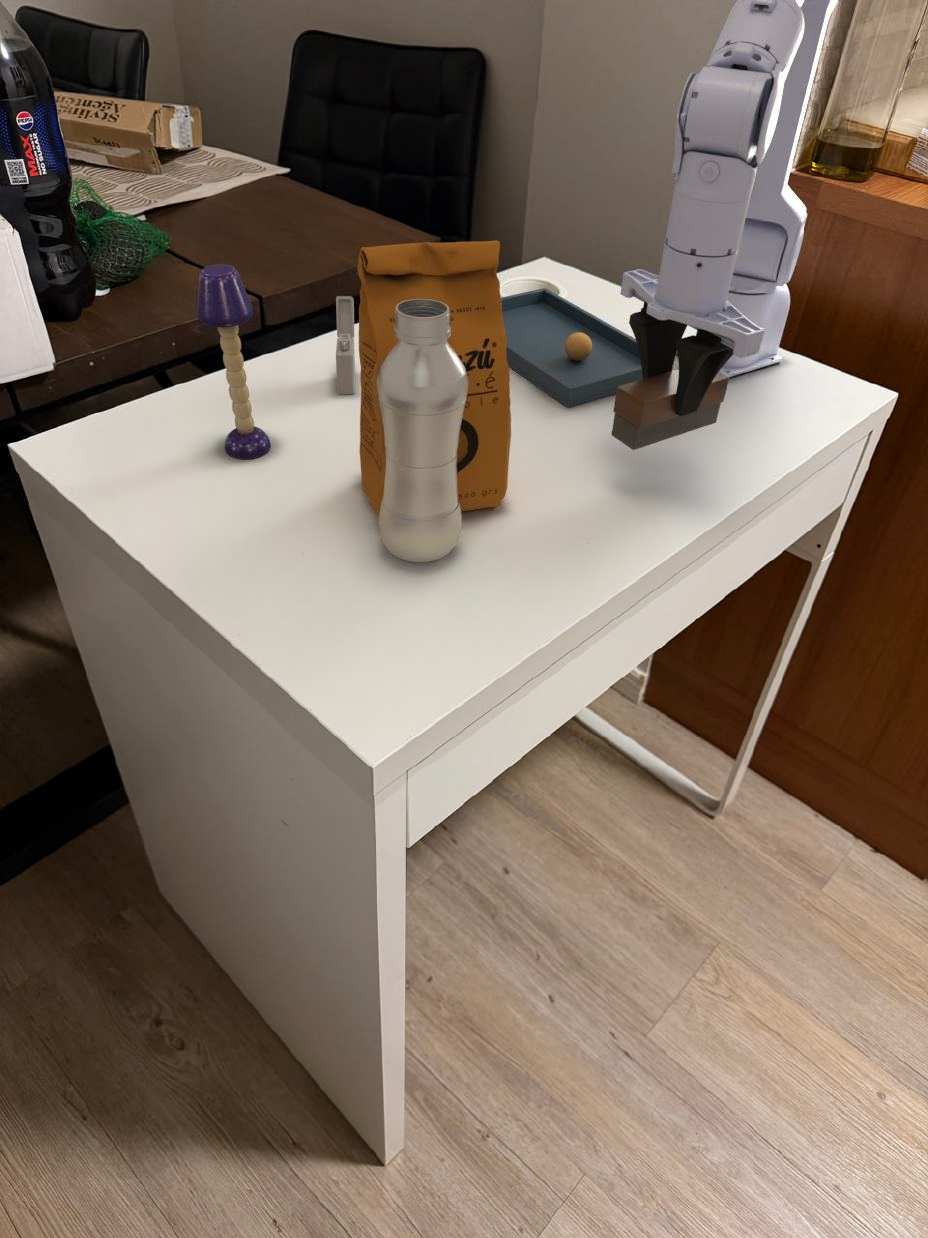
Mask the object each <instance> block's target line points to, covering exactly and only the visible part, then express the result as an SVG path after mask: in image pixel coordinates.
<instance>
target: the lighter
mask: <svg viewBox="0 0 928 1238" xmlns="http://www.w3.org/2000/svg"><path fill="white" fill-rule="evenodd" d="M354 304H355V300H354V297H353V296H352V295H337V296H336V297H335V307H336V311H335V312H336V337H337V338H336V345H335V347H336V348H335V366H336V367H335V368H336V382H337V383H336V385H337V386H336V387H337V394H338V395H355V393H356V359H355V358H356V356H355V352H356V351H355V339H354V338H355V305H354Z"/></svg>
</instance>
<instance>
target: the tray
mask: <svg viewBox="0 0 928 1238" xmlns="http://www.w3.org/2000/svg"><path fill="white" fill-rule="evenodd" d="M501 301H502V316H503V321H504V327H505V330H506V339H507V348H506V358H507V362H508V367H509V369H510V370H512V371H514V372H515V373H517V374H518V375H520V376H521V377H522V378H524V379H526V381H528V382H529V383H531V384H533V385H534V386H535V387H537V388H539V389H540V390H542V391H543V392H545V393H546V394H547V395H549V396H551V397H552V398H553V399H555V400H556V401H558V402H559V403H561V404H562V405H563V406H565V407H567V408H571V407H574V406H578V405H581V404H585V403H588V402H591V401H594V400H598V399H602V398H605V397H609V396H613V395H616V391H617V387H618V386H621V385H625V384H628V383H632V382H635V381H638V380H642V379H643V378H642V367H641V360H640V354H639V349H638V345H637V342H636V339H635V337H633V336H631V335H629V334H628V333H626V332H625V331H624V332H623V331H622V330H620V329H618V327H615V326H613V325H611V324H610V323H608V322H606V321H604V320H603V319H601V318H599V317H597V316H596V315H594V314H592V313H590V312H589V311H587V310H585V309H584V308H581V306H578V305H576V304H574V303H573V302H571V301H569V300H568V299H565V298H564V297H562V296H560V295H558V294H556V293H555V292H553V291H551V290H550V289H548V288H546V287H543V288H539V289H534V290H529V291H526V292H520V293H516V294H512V295H507V296H501ZM574 333H584V334H586V335H587V336H588V337H589V338H590V340H591V342H592V350H591V353H590V355H589V356H588V357H587V358H586V359H584V360H581V361H575V360H572V359H571V358H569V357H568V356H567V354H566V352H565V343H566V340H567V339H568V337H569V336H570V335H572V334H574Z"/></svg>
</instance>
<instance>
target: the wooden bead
mask: <svg viewBox="0 0 928 1238" xmlns="http://www.w3.org/2000/svg"><path fill="white" fill-rule="evenodd" d="M591 350H592V342H591V340H590V338H589V337H588V336H587V335H586V334H584V333H574V334H572V335H570V336H569V337H568V339H567V340H566V343H565V352H566V354H567V356H568V357H569V358H571V359H572V360H575V361H581V360H584V359H586V358H587V357H588V356H589V355H590V353H591Z"/></svg>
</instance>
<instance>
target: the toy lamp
mask: <svg viewBox="0 0 928 1238" xmlns="http://www.w3.org/2000/svg"><path fill="white" fill-rule="evenodd" d="M198 279H199V280H198V289H197V291H198V292H197V307H196V314H197V315H196V316H197V319H198V320H199V322H200V323H201V324H203V325H205V326H208V327H211V328H217V331H218V334H219V335H220V339H219V344H220V348H221V350H222V352H223V355H222V361H223V364H224V365H223V366H224V367H225V368H226V369H225V379H226V381H227V384H228V385H229V386H228V394H229V397H230V399H231V400H232V402H231V409H232V412H233V414H234V425H235V427H234V428H233V429H232V430H230V432H229V433H228V434H227V436H226V438H225V441H224V451H225V453H226V454H227V455H228V456H230V457H232V458H234V459H240V460H249V459H250V460H251V459H256V458H259V457H262V456H265V454H267V453H268V452H269V451H270V449H271V447H272V446H271V445H272V443H271V440H270V437H269V436H268V434H267V433H266V432H265V431H264V430H263V429H261V428H260V427H257V426H255V419H254V416H252V411H253V409H252V404H251V401H250V390H249V387H248V385H247V373H246V370H245V368H244V361H245V360H244V355H243V354H242V352H241V349H242V342H241V338H240V337H239V335H238V334H239V325H243V324H245V323H247V322H248V321H250V320H251V319H252V318H253V316H254V309H253V306H252V302H251V301H250V298H249V295H248V293H247V291H246V289H245V286H244V284H243V281H242V279H241V276H240V274H239V272H238V270H237V269H236V268H235V267H234V266H233V265H229V264H225V263H224V264H223V263H221V264H220V263H219V264H211V265H207V266H206V267H203V268H202V269H201V271H200V273H199V278H198Z"/></svg>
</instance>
